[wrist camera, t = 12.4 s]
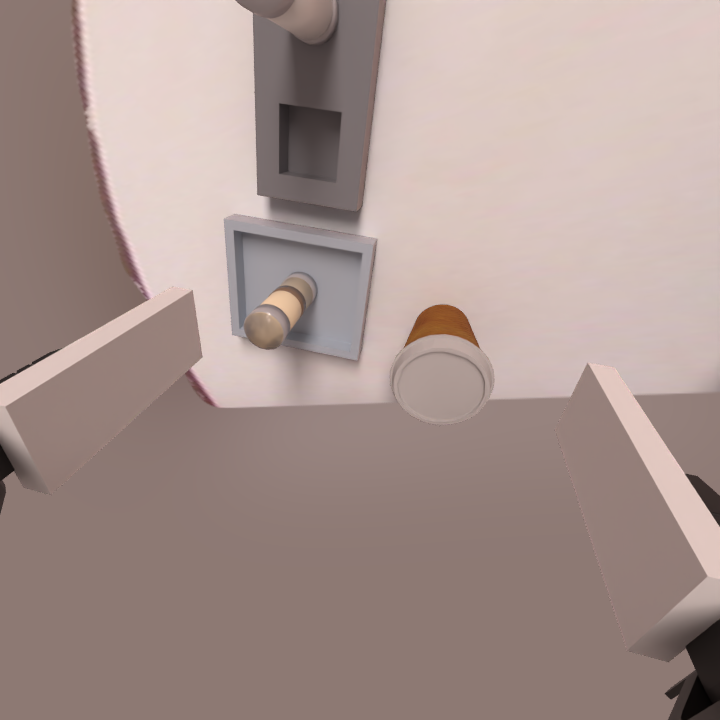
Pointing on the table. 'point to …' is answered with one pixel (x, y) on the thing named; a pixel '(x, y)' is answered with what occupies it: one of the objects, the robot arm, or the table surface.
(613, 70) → the table surface
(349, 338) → the parts tray
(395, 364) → the disposable coffee cup
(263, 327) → the fuse
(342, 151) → the grey slotted block
